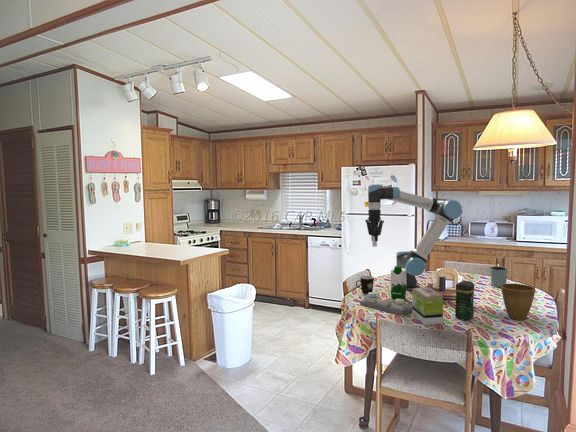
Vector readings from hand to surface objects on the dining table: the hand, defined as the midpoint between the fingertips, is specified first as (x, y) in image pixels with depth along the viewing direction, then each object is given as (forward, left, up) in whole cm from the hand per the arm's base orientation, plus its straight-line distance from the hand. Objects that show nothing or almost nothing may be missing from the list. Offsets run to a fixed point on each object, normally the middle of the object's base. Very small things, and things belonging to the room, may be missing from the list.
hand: (374, 246), depth 249 cm
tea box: (-10, +53, -30) cm, 62 cm away
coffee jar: (-30, +53, -30) cm, 68 cm away
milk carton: (-9, +17, -30) cm, 35 cm away
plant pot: (-55, +58, -30) cm, 85 cm away
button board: (+4, +31, -29) cm, 43 cm away
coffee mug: (+7, +1, -30) cm, 30 cm away
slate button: (+9, +24, -26) cm, 36 cm away
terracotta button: (+4, +31, -27) cm, 41 cm away
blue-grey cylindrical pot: (-82, +2, -30) cm, 87 cm away
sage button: (-1, +38, -26) cm, 46 cm away
